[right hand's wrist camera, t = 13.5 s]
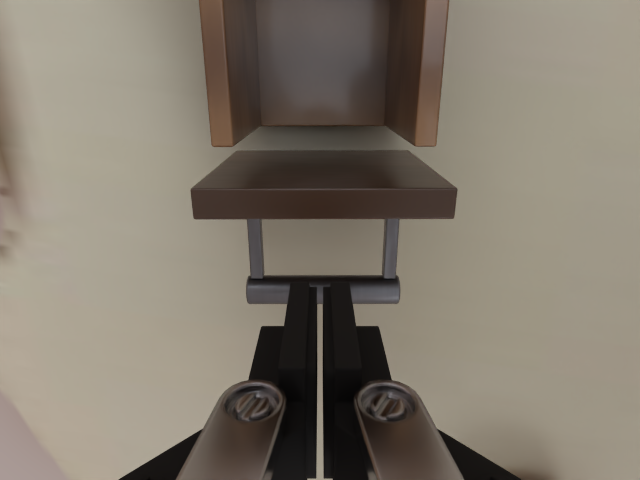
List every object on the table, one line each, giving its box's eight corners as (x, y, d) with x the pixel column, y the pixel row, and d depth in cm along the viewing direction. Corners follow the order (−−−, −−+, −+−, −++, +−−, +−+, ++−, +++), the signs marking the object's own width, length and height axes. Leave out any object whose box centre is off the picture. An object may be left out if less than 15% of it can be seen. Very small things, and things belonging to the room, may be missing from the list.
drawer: (401, 259, 27) (440, 344, 18) (243, 259, 27) (206, 344, 18) (436, -257, 18) (541, -561, 10) (208, -257, 18) (107, -559, 10)
